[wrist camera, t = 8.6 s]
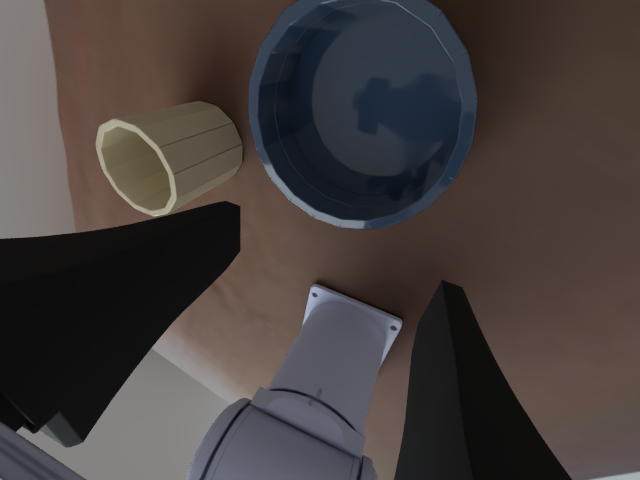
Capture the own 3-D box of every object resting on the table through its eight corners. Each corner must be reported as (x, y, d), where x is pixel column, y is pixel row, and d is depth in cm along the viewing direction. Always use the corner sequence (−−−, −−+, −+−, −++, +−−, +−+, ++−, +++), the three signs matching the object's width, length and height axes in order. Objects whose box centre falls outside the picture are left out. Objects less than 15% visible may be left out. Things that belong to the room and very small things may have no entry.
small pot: (242, 188, 23) (180, 228, 18) (183, 166, 25) (109, 198, 19) (243, 113, 20) (168, 137, 15) (175, 93, 21) (84, 107, 16)
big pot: (425, 222, 19) (418, 256, 16) (276, 171, 22) (245, 193, 18) (519, 16, 13) (537, 7, 10) (295, -26, 15) (251, -45, 12)
